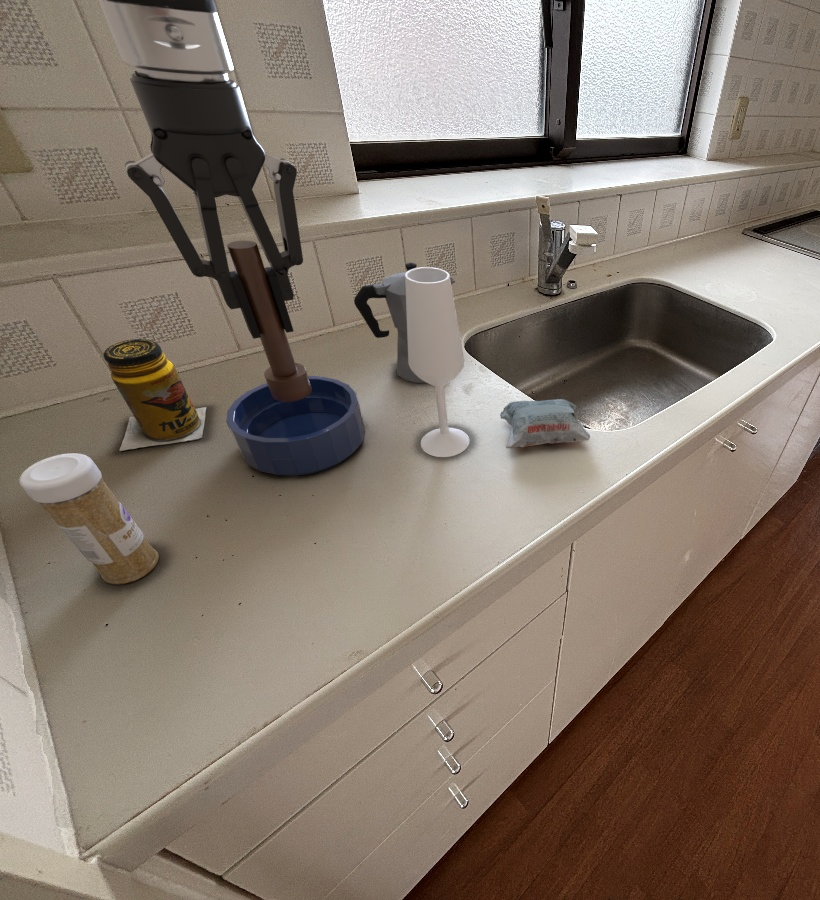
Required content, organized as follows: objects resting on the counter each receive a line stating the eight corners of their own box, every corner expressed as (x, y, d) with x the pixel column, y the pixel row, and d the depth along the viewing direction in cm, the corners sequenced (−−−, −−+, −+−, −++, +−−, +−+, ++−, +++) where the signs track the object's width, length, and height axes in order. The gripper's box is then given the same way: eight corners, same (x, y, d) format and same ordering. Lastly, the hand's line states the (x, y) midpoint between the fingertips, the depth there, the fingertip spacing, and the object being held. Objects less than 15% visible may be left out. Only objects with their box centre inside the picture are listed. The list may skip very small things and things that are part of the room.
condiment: (202, 439, 65) (161, 358, 58) (119, 452, 62) (65, 368, 54) (207, 408, 70) (170, 330, 62) (130, 419, 67) (82, 337, 59)
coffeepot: (448, 348, 90) (439, 247, 79) (473, 372, 85) (467, 268, 74) (361, 369, 82) (336, 259, 71) (382, 397, 77) (360, 284, 65)
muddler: (266, 402, 60) (208, 250, 48) (278, 382, 63) (226, 236, 52) (306, 402, 61) (257, 253, 49) (316, 382, 64) (273, 238, 53)
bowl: (223, 480, 60) (204, 442, 56) (266, 410, 71) (253, 374, 67) (352, 478, 63) (342, 441, 59) (375, 411, 74) (367, 376, 70)
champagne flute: (439, 422, 74) (420, 259, 58) (478, 436, 72) (470, 273, 57) (410, 447, 69) (381, 276, 53) (452, 463, 67) (435, 292, 52)
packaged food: (588, 451, 72) (591, 424, 69) (506, 458, 69) (505, 430, 66) (574, 417, 79) (577, 390, 76) (499, 422, 75) (498, 394, 72)
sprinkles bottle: (168, 565, 51) (100, 467, 42) (113, 594, 48) (27, 495, 39) (148, 542, 52) (78, 444, 44) (94, 569, 49) (7, 469, 41)
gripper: (57, 72, 35) (193, 361, 50) (298, 86, 44) (353, 329, 59) (56, 60, 40) (182, 330, 55) (277, 75, 48) (333, 305, 63)
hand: (270, 329), depth 57 cm, fingers closed on muddler, 3 cm apart
